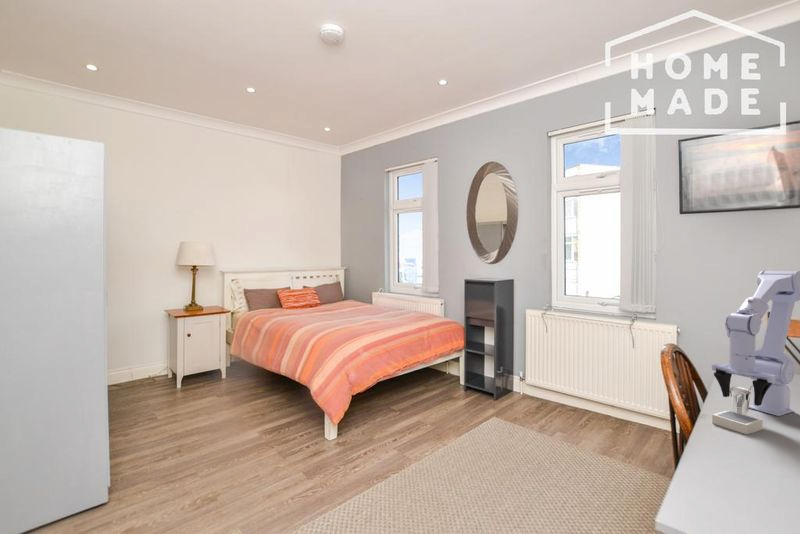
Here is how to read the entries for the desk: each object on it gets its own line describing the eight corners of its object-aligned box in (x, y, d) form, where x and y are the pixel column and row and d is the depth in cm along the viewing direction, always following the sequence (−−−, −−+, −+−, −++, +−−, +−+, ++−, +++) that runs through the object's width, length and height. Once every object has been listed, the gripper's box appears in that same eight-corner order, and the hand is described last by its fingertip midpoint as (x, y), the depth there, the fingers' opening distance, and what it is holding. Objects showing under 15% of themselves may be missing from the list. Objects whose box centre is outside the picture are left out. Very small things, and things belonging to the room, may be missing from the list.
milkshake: (757, 422, 111) (757, 387, 111) (736, 420, 112) (736, 386, 112) (746, 416, 115) (747, 382, 115) (726, 414, 116) (726, 381, 116)
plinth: (728, 418, 113) (728, 409, 113) (762, 429, 106) (762, 419, 106) (712, 423, 110) (712, 414, 110) (746, 434, 103) (746, 424, 103)
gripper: (706, 350, 118) (705, 394, 119) (766, 361, 105) (765, 411, 105) (719, 348, 121) (718, 391, 121) (779, 359, 108) (779, 407, 108)
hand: (741, 400), depth 114 cm, fingers open, 7 cm apart
